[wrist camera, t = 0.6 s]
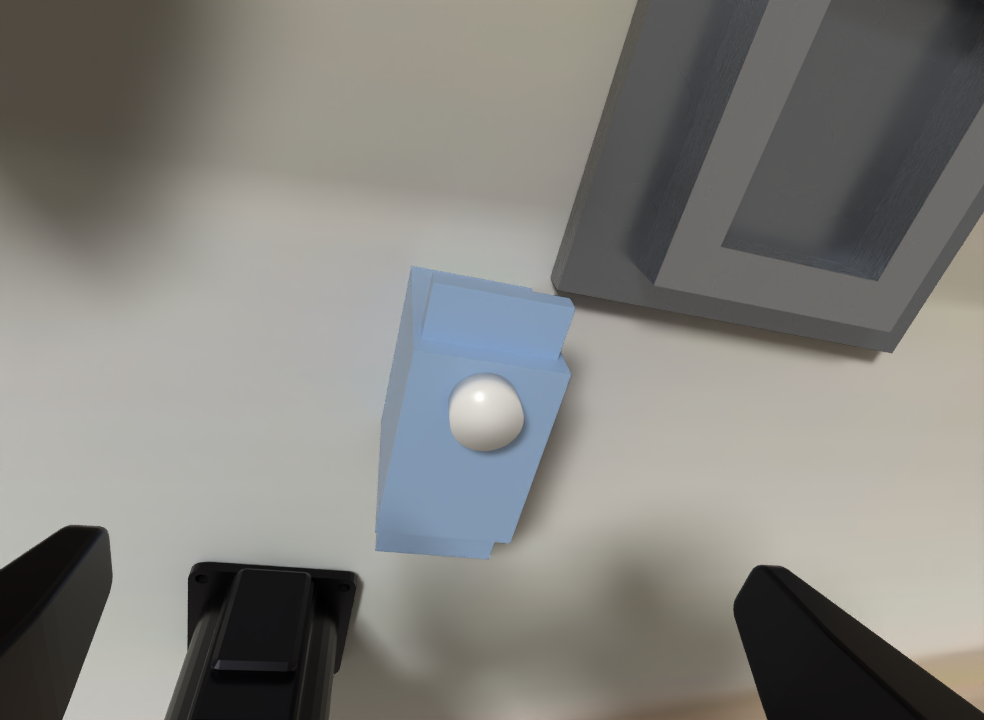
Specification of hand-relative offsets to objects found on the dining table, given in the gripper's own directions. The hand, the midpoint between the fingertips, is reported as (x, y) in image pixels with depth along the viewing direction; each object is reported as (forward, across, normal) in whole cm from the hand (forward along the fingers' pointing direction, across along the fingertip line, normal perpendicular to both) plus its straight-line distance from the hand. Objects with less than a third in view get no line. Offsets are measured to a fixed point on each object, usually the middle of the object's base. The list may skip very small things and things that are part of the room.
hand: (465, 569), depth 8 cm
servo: (+12, -2, +3) cm, 13 cm away
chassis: (+12, -11, -7) cm, 17 cm away
